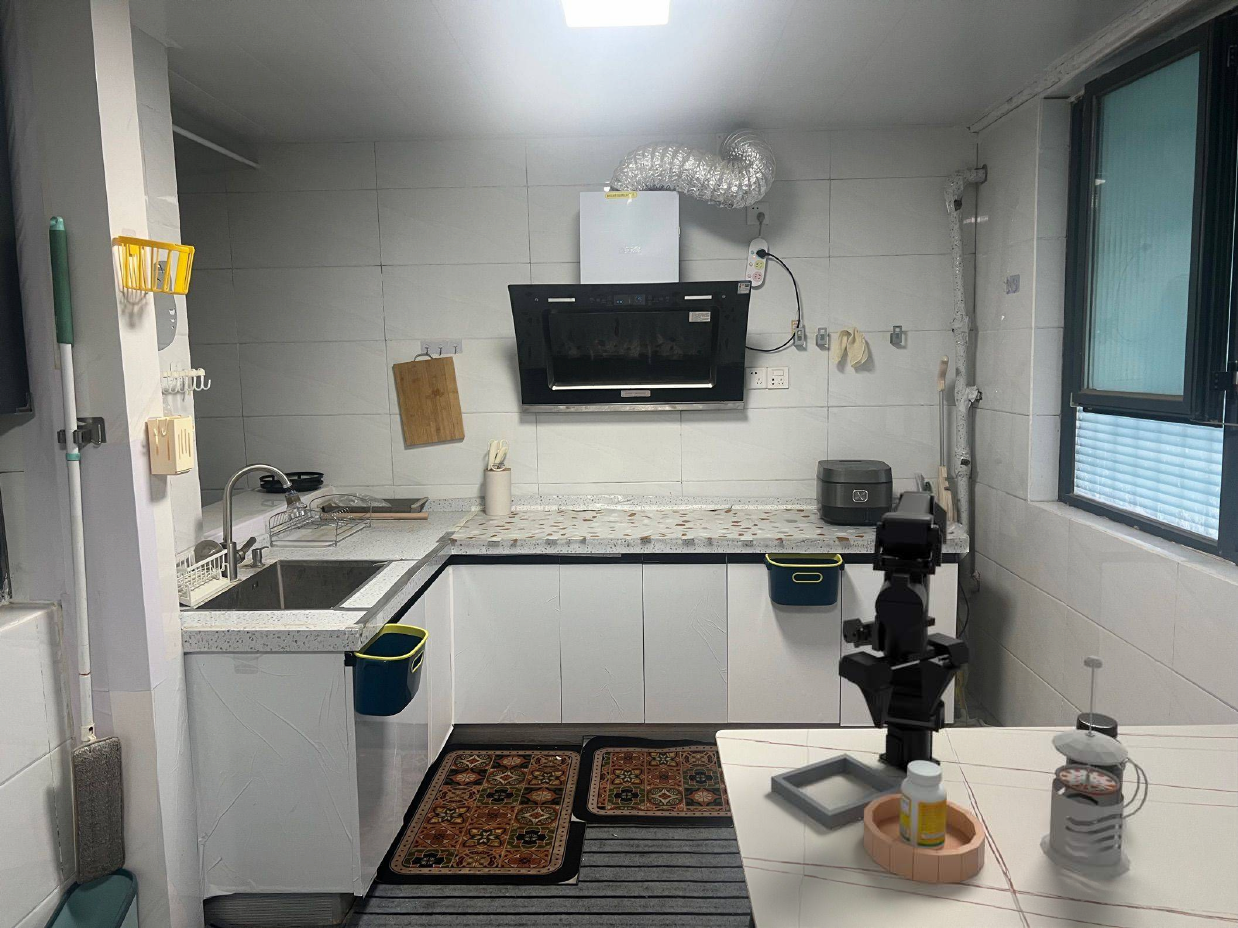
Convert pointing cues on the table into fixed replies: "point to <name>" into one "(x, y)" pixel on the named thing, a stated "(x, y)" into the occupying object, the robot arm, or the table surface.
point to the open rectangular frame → (815, 771)
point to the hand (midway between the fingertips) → (903, 719)
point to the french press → (1089, 802)
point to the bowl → (933, 866)
